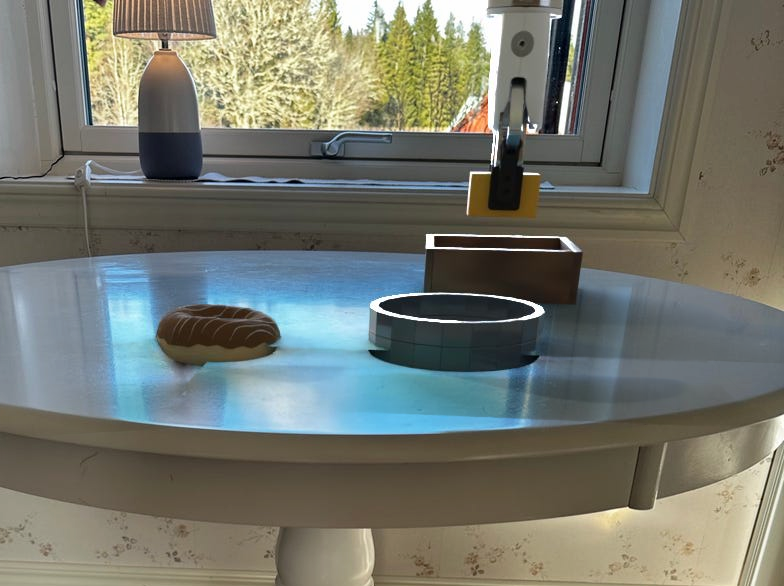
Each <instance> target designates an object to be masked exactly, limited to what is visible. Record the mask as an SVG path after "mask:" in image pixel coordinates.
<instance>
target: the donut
mask: <svg viewBox="0 0 784 586" xmlns="http://www.w3.org/2000/svg"><path fill="white" fill-rule="evenodd" d="M155 337H156V339H157V341H158V342H157V344H158V346H159V349H160V350H161V351H162V352H163V354H164V355H166V356H167V358H169V359H172V361H176V362H178V363H181V364H185V365H189V366H195V367H204V366H205V365H206V364H207V363H234V362H244V361H252V360H258V359H262V358H265V357H268V356H271V355H273V354H274V353H275V352H276V351H277V349H278V346H273V345H272V344H274V343H276V342H278V341H279V340H280V339H281V338H282V336H281V331H280V328H279V325H278V323H277V321H276V320H275V319H274V318H272V317H271V316H270V315H268V314H266V313H265V312H263V311H260V310H256V309H253V308H250V307H245V306H243V307H242V306H235V305H227V304H212V303H211V304H210V303H197V304H191V305H184V306H183V305H180V306H178V307H175V308H174V309H172V310H170V311H168V312H167V313H166V314H164V315H163V316H162V317H161V319H160V320H159V322H158V325H157V329H156V333H155Z"/></svg>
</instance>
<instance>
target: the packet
mask: <svg viewBox="0 0 784 586" xmlns="http://www.w3.org/2000/svg"><path fill="white" fill-rule="evenodd" d="M490 178H491V172H489V171H470V172H469V181H468V193H467V205H466V215H467V217H477V218H478V217H479V218H480V217H483V218H518V219H519V218H520V219H521V218H522V219H526V218H527V219H536V218H537V212H538V206H539V205H538V203H539V197H540V188H541V180H542V175H541V174H539V173H538V172H524V173H523V182H522V190H521V199H520V207H519V209H518V210H516V211H509V210H490V209H489V208H488V199H489V189H490Z"/></svg>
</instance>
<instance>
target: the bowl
mask: <svg viewBox="0 0 784 586" xmlns="http://www.w3.org/2000/svg"><path fill="white" fill-rule="evenodd" d="M368 315H369V318H368V319H369V320H368V341H369V342H370V343H371V344H372V345H374V346H375V347H377V348H380V349H367V351H368V353H369V354H370V355H371V357H373V358H375V359H377V360H379V361H381V362H385V363H388V364H390V365H391V364H392V365H395V366H399V367H405V368H410V369H416V370H424V371H437V372H449V373H450V372H451V373H452V372H453V373H484V372H485V373H486V372H499V371H508V370H514V369H519V368H524V367H526V366H530V365H532V364H534V363H536V362H537V361H538V359H539V358H540V354H530V353H534V352H535V351H537V350H538V349H540V347H541V346H542V339H543V331H544V322H545V315H546V311H545V310H544V308H543V307H542V306H540V305H538V304H537V303H531V302H527V301H522V300H518V299H513V298H506V297H499V296H491V295H479V294H462V293H423V292H422V293H421V292H420V293H419V292H418V293H409V294H398V295H392V296H386V297H381V298H378V299H376V300H374V301H371V303H370V306H369V314H368Z"/></svg>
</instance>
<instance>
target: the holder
mask: <svg viewBox="0 0 784 586" xmlns="http://www.w3.org/2000/svg"><path fill="white" fill-rule="evenodd" d="M425 239H426V241H425V255H424V268H423V269H424V272H423V288H422V289H423V290H422V293H462V294H479V295H491V296H499V297H506V298H513V299H518V300H522V301H527V302H531V303H533V304H536V305H538V304H541V305H544V304H545V305H574V306H575V305H577V298H578V292H579V291H578V290H579V286H580V285H579V284H580V278H581V277H580V276H581V268H582V263H583V257H584V256H583V254H584V251H582V249H580V248H579V247H578V246H577V245H576V244H575V243H573V242H572V241H571V240H570V239H569V238H568V237H567V236H529V235H527V236H526V235H524V236H523V235H485V234H484V235H483V234H482V235H481V234H480V235H479V234H478V235H477V234H440V233H439V234H438V233H437V234H436V233H435V234H432V233H431V234H429V233H427V234H426V238H425Z"/></svg>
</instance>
